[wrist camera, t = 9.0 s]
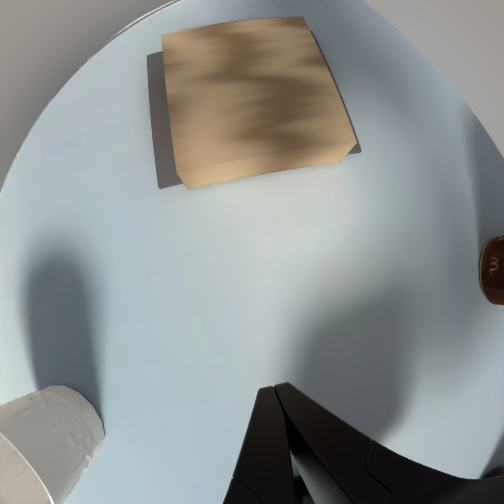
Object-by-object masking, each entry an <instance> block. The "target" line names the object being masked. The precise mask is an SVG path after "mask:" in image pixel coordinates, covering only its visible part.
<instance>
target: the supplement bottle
mask: <svg viewBox="0 0 504 504" xmlns="http://www.w3.org/2000/svg"><path fill="white" fill-rule="evenodd" d="M499 476H504V467H497V468H495V469H493V470H492V471H491V472H489V473H488V474H487V475H486V476H485V477H484V478H483V479H485V478H492V477H499Z"/></svg>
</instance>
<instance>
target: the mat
mask: <svg viewBox="0 0 504 504" xmlns="http://www.w3.org/2000/svg"><path fill="white" fill-rule="evenodd" d="M310 32H311V34H312V36H313V38H314V40H315V42H316V44H317V46H318V48H319V50H320V52H321V54H322V57H323V59H324V61H325V63H326V65H327V68H328V70H329V72H330V74H331V77H332V79H333V81H334V84H335V86H336V89H337V91H338V93H339V96H340V98H341V101H342V103H343V106H344V109H345V111H346V114H347V116H348V119H349V122H350V125H351V127H352V130H353V133H354V136H355V139H356V142H357V143H356V144H355V145H354V147H353V148H352V149H351V150H350V151H349V152H348V154H353V153H360V152H361V148H360V145H359V142H358V139H357V136H356V133H355V130H354V127H353V125H352V122H351V119H350V117H349V114H348V111H347V109H346V106H345V104H344V101H343V99H342V96H341V94H340V91H339V89H338V86H337V84H336V82H335V79H334V77H333V75H332V72H331V70H330V68H329V66H328V64H327V61H326V59H325V57H324V55H323V53H322V51H321V49H320V47H319V44H318V42H317V40H316V38H315V36H314V34H313V32H312V31H310ZM147 68H148V87H149V102H150V115H151V126H152V137H153V146H154V156H155V164H156V172H157V180H158V187H159V188H160V189H162V188H166V187H170V186H174V185H178V184H182V183H183V182H182V180H181V179H180V177H179V176H178V174H177V171H176V164H175V157H174V150H173V143H172V135H171V127H170V119H169V111H168V102H167V92H166V83H165V72H164V61H163V51H162V52H158V53H155V54H151V55H148V56H147Z"/></svg>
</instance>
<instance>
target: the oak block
mask: <svg viewBox="0 0 504 504" xmlns="http://www.w3.org/2000/svg"><path fill="white" fill-rule="evenodd" d="M162 48H163V61H164V72H165V83H166V92H167V102H168V111H169V119H170V127H171V135H172V143H173V150H174V157H175V164H176V171H177V174H178V176H179V177H180V179H181V180H182V182H183V184H184V185H185V187H186V188H187V190H189V189H193V188H198V187H202V186H207V185H211V184H216V183H221V182H226V181H231V180H235V179H241V178H246V177H251V176H256V175H262V174H267V173H273V172H279V171H284V170H290V169H297V168H303V167H309V166H316V165H323V164H330V163H337V162H341V161H342V160H343V158H344V157H345V156H346V155H347V154H348V152H349V151H350V150H351V149H352V148H353V147H354V145H355V144H356V143H357V142H356V139H355V136H354V133H353V130H352V127H351V125H350V122H349V119H348V116H347V114H346V111H345V109H344V106H343V103H342V101H341V98H340V96H339V93H338V91H337V89H336V86H335V84H334V81H333V79H332V77H331V74H330V72H329V70H328V68H327V65H326V63H325V61H324V59H323V57H322V54H321V52H320V50H319V48H318V46H317V44H316V42H315V40H314V38H313V36H312V34H311V32H310V30H309V28H308V26H307V24H306V22H305V20H304V18H303V17H281V18H265V19H254V20H244V21H236V22H228V23H222V24H215V25H209V26H204V27H198V28H193V29H189V30H184V31H180V32H175V33H171V34H167V35H163V36H162Z"/></svg>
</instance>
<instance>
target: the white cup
mask: <svg viewBox="0 0 504 504" xmlns="http://www.w3.org/2000/svg"><path fill="white" fill-rule="evenodd" d="M104 437H105V435H104V430H103V424H102V420H101V419H100V417H99V415H98V414H97V412H96V410H95V409H94V407H93V405H92V404H91V403H90V402H89V401H87V400H86V399H85V398H84V397H83V396H82V395H81V394H80V393H79V392H77V391H75V390H73V389H71V388H69V387H67V386H65V385H51V386H48V387H46V388H44V389H42V390H40V391H38V392H34V393H31V394H27V395H25V396H23V397H21V398H18V399H15V400H12V401H9V402H7V403H5V404H2V405H0V495H1V497H3V498H4V499H5V500H6V501H7V502H8V503H10V504H63V503H64V501H65V500H66V499H67V497H68V496H69V494H70V493H71V492H72V490H73V489H74V487H75V486H76V485H77V483H78V482H79V480H80V479H81V477H82V476H83V474H84V472H85V471H86V470H87V468H88V467H89V465H90V463H91V462H92V460H93V458H94V456H95V455H96V453H97V452H98V451H99V449H100V448H101V445H102V443H103V440H104Z"/></svg>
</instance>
